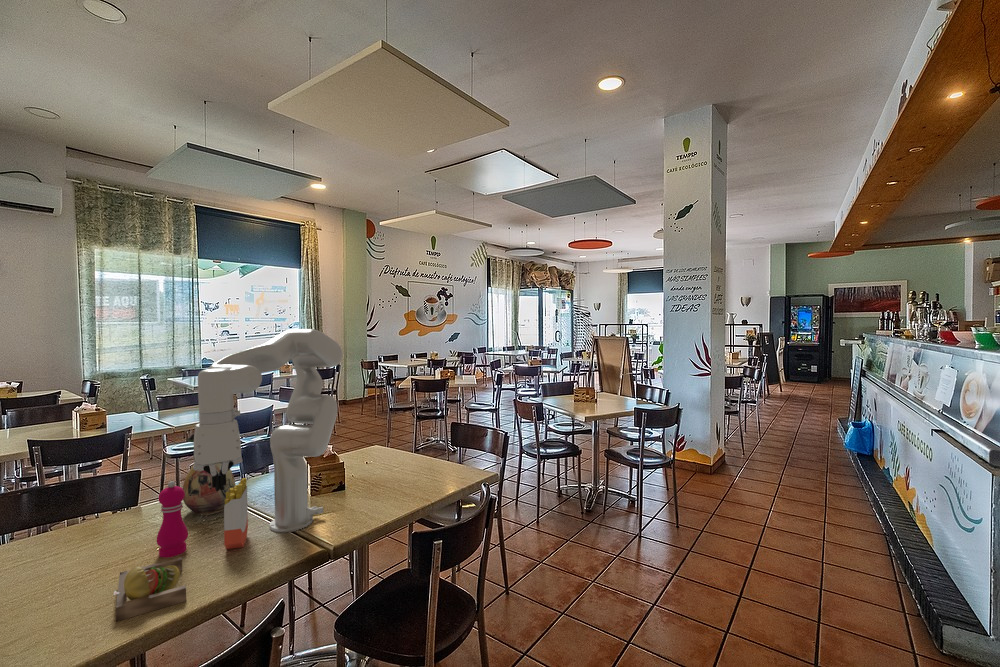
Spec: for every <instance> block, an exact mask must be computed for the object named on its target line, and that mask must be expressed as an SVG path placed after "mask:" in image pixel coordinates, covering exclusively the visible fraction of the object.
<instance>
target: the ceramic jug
mask: <svg viewBox="0 0 1000 667" xmlns="http://www.w3.org/2000/svg"><path fill="white" fill-rule="evenodd" d="M186 442H189V443H194V433H192V435H190V436H189V437H188V438H187V439H186ZM193 466H194V463H193V464H192V465H191V467H190V469H189V471H188V472H187V474H186V476H185V478H184V481H183V485H182V489H183V490H184V492H185V497H184V499H183V500H182V502H183V504H185V506H186V507H187V508H188V509H189V510H191V512H193V513H194V515H196V516H208V515H213V514H217V513H220V512H223V511H224V505H225V499H226V492H230V491H229V489H230V488H233V489H234V487H235V486H236V485H237V484H236V480H235V477H234V473H233V471H232V470H231V468H230V469H229V470H228V471H227V473H226V485H225V486H224V490H219V491H216V489H215V487H214V488H212V475H211V474H209V473H207V472H206V471H197V470H194V469H193ZM215 468H216V471H217V472H218V474H219V472H220V470H221V463H216V464H215Z"/></svg>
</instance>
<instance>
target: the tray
mask: <svg viewBox="0 0 1000 667" xmlns="http://www.w3.org/2000/svg"><path fill="white" fill-rule="evenodd" d="M167 566H176V567H177V568H178V569H179V571H180V573H181V572H183V558H182V556H180V557H178V558H177V557H176V558H173V559H170V560H169V559H168V560H166V561H165V560H164V561H162V562H157V563H152V564H148V565H145V566H140V567H141V568H142V569H145V570H144V571H146V570H150V569H151V568H152V567H156V568H160V567H163V568H165V567H167ZM146 568H147V569H146ZM130 570H131V569H129V570H124V571H121V572H119V576H118V577H119V578H118V586H117V592H119V593H120V594H117V595H116V603H115V622H120V621H123V620H126V619H129V618H133V617H137V616H139V615H143V614H147V613H149V612H150V613H151V612H153V611H156V610H161V609H164V608H166V607H170V606H174V605H176V604H180V603H184V602H187V586H186V585H187V584H184V585H181V586H178V587H174V588H173V589H170V590H166V591H163V592H159V593H155V594H152V595H148V596H145V597H141V598H138V599H134V600H130V599H129V600H127V599H128V597H127V596H126V593H125V592H124V580H125V577H126V575H127V573H128V572H129V571H130ZM121 592H122V593H121Z"/></svg>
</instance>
